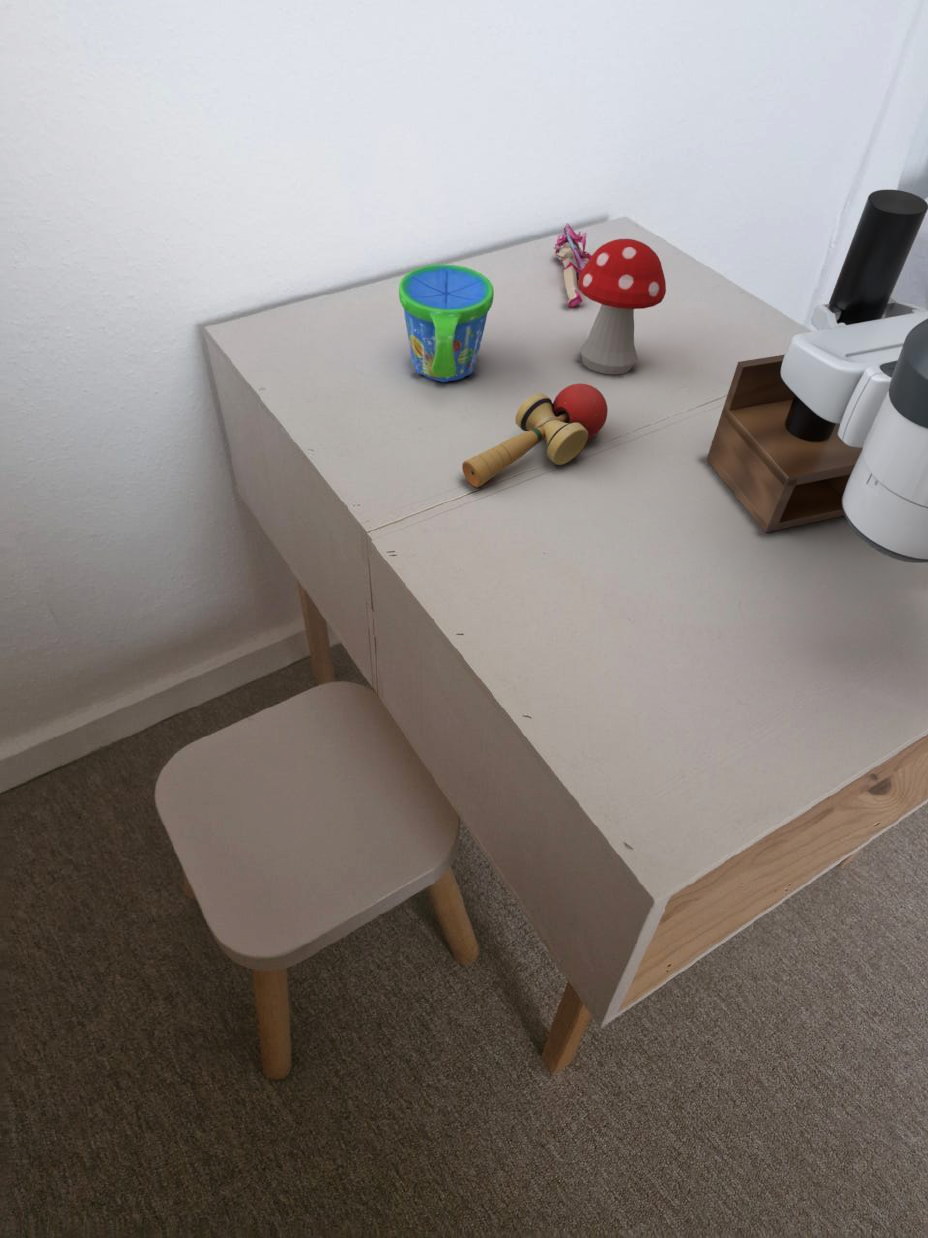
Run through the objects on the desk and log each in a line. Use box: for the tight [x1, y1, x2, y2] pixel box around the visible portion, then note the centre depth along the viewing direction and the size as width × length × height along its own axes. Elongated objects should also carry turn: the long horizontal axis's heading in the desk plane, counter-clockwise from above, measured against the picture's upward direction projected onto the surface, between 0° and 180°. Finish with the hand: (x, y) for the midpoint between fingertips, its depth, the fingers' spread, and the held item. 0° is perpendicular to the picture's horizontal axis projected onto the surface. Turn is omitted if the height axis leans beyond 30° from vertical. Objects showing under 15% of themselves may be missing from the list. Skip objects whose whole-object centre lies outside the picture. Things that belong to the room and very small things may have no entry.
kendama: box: [461, 382, 609, 488], centre depth 89 cm, size 8×6×18 cm
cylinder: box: [785, 189, 928, 441], centre depth 76 cm, size 5×5×22 cm
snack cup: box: [398, 264, 495, 383], centre depth 97 cm, size 16×10×10 cm
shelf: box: [706, 354, 863, 533], centre depth 85 cm, size 12×11×12 cm
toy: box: [553, 222, 593, 308], centre depth 115 cm, size 7×6×15 cm
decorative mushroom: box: [577, 238, 667, 376], centre depth 98 cm, size 10×9×15 cm
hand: (848, 306), depth 75 cm, fingers closed on cylinder, 5 cm apart
